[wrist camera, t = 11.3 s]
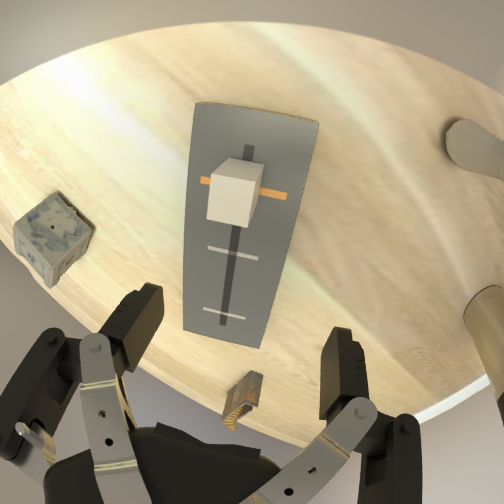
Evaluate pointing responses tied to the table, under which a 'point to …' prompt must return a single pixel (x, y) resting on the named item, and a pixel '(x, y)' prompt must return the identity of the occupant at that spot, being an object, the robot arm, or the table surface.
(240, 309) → the fader console
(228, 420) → the rusty notched block
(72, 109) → the table surface
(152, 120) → the table surface
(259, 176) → the fader knob
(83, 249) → the incense holder
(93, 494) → the robot arm
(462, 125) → the salt shaker
